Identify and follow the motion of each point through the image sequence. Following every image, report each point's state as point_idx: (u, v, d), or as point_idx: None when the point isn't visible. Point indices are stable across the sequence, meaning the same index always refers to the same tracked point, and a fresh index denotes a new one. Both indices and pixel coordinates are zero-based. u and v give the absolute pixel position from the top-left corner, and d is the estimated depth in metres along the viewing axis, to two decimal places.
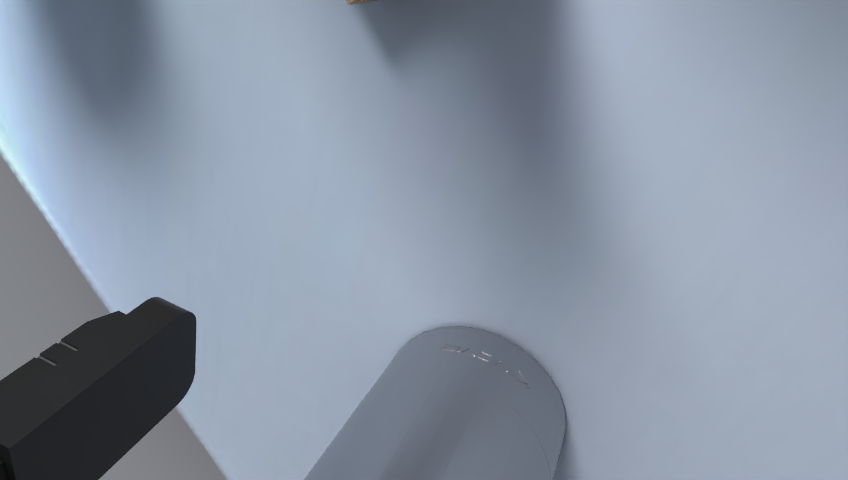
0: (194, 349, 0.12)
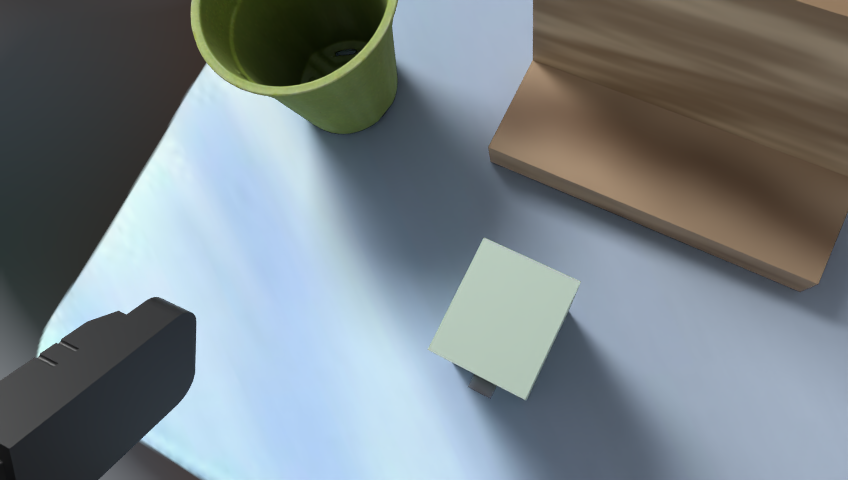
0: (194, 349, 0.12)
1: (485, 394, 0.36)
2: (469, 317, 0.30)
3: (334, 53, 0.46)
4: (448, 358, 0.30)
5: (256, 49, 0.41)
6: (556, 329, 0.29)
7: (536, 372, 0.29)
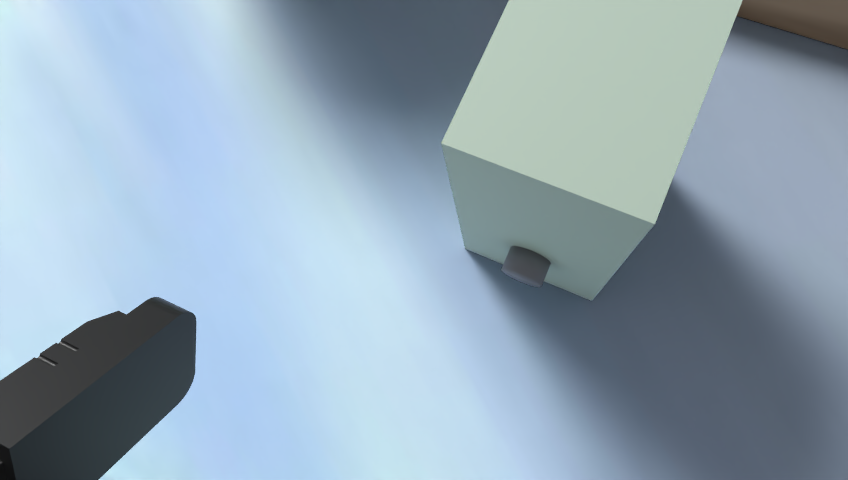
0: (194, 348, 0.12)
1: (534, 276, 0.20)
2: (523, 76, 0.15)
3: None
4: (485, 157, 0.15)
5: None
6: (706, 83, 0.14)
7: (673, 169, 0.14)
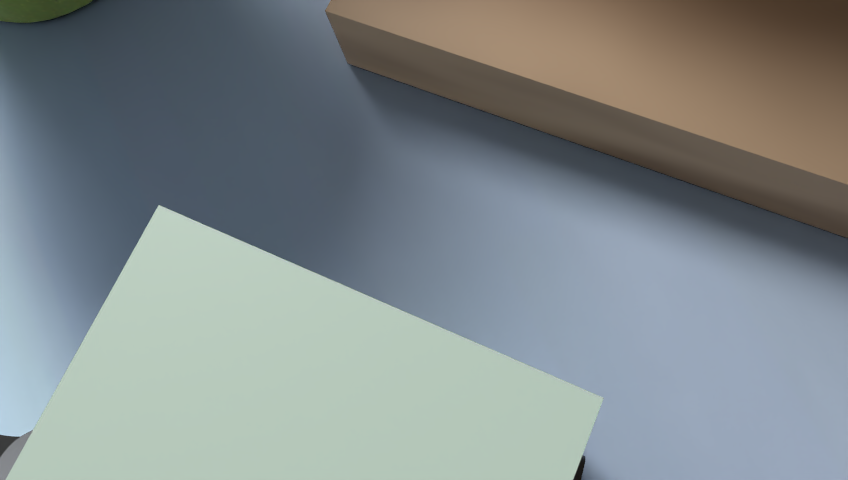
0: None
1: None
2: None
3: None
4: None
5: None
6: None
7: None
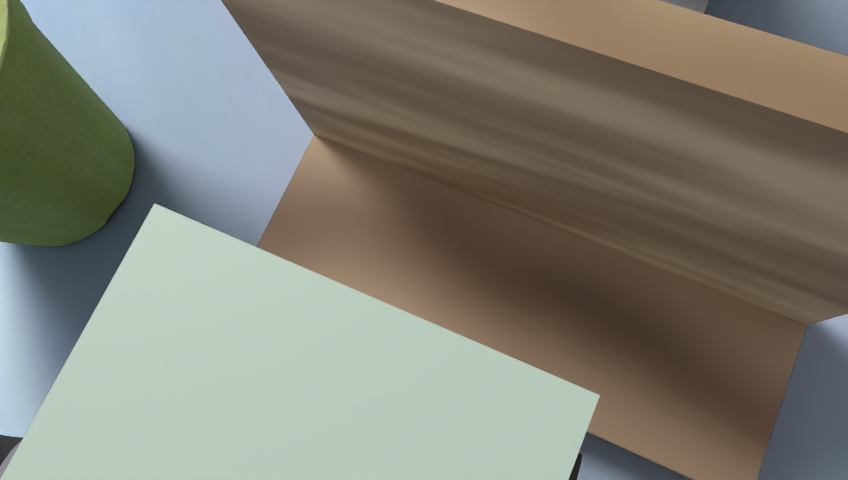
0: None
1: None
2: None
3: None
4: None
5: None
6: None
7: None
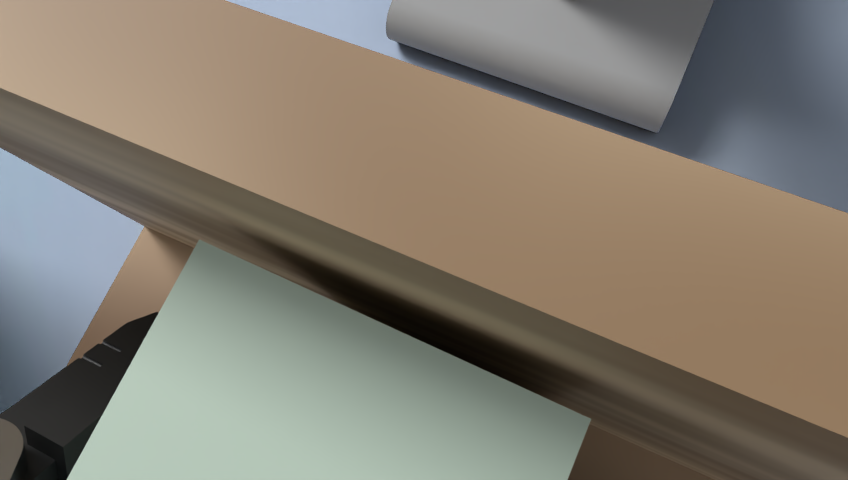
0: None
1: None
2: None
3: None
4: None
5: None
6: None
7: None
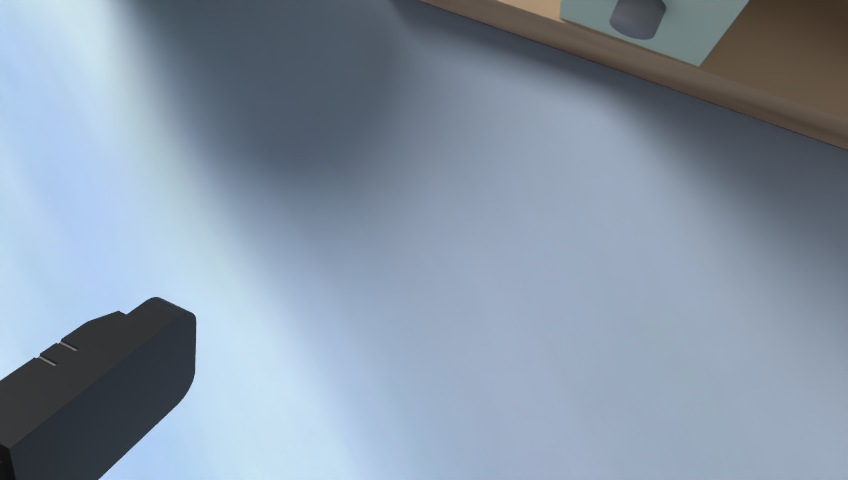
0: (194, 348, 0.12)
1: (649, 21, 0.18)
2: None
3: None
4: None
5: None
6: None
7: None
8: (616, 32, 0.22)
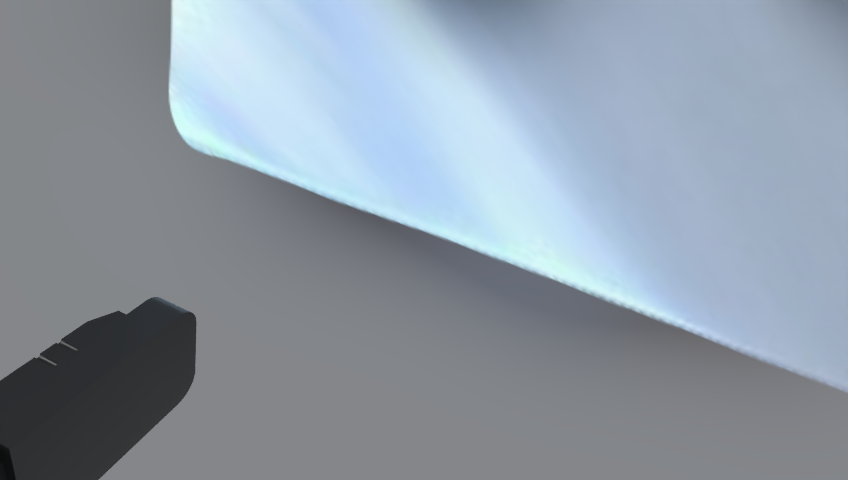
0: (194, 349, 0.12)
1: None
2: None
3: None
4: None
5: None
6: None
7: None
8: None
